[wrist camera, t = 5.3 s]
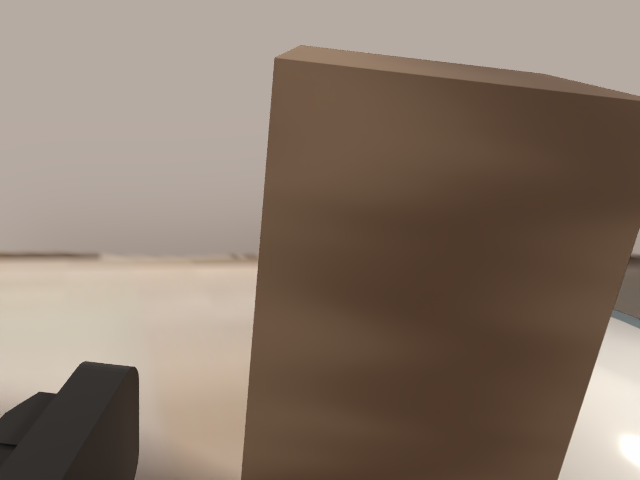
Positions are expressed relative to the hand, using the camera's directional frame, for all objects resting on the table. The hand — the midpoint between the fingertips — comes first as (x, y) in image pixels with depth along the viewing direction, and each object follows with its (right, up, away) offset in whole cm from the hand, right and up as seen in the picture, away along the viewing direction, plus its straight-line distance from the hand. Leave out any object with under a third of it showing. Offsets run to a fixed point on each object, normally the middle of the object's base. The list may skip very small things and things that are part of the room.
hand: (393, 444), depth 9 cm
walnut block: (-1, -6, +4) cm, 7 cm away
